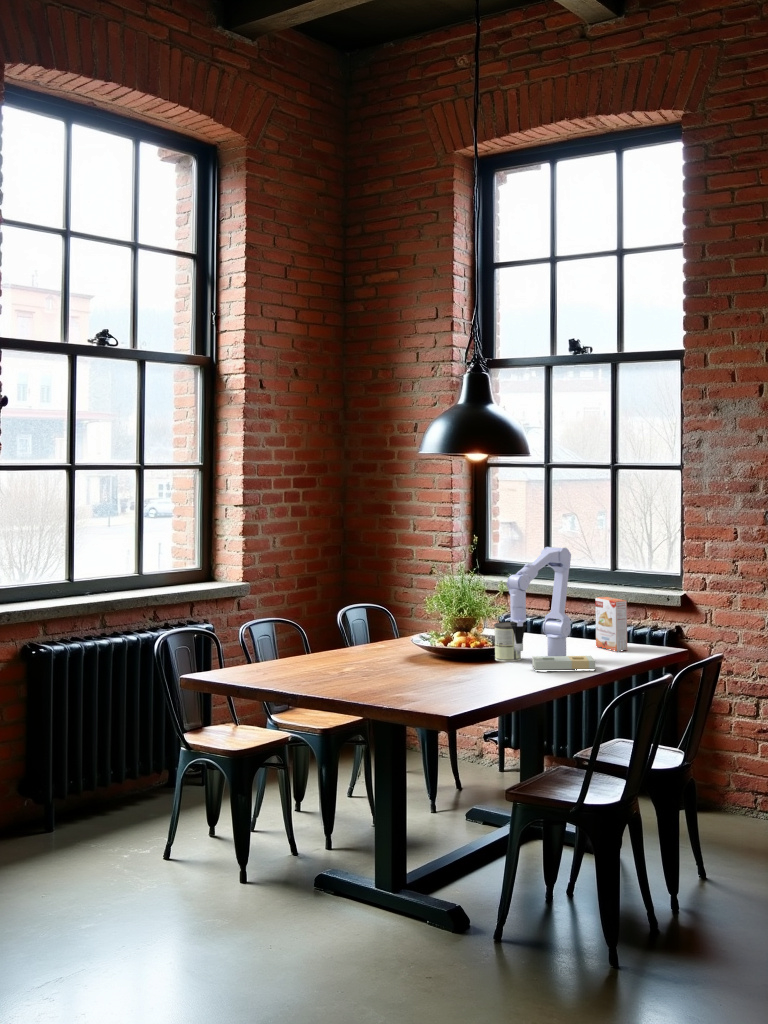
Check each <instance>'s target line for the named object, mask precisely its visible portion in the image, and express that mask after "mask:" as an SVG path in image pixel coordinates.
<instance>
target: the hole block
mask: <svg viewBox="0 0 768 1024" xmlns="http://www.w3.org/2000/svg"><path fill="white" fill-rule="evenodd" d="M533 667H534V669H535V670H575V669H576V670H577V669H595V670H596V659H595V658H594V657H593V656H591V655H566V656H548V655H544V656H538V655H537V656H532V668H533ZM534 669H533V670H534ZM535 670H534V671H535Z"/></svg>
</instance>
